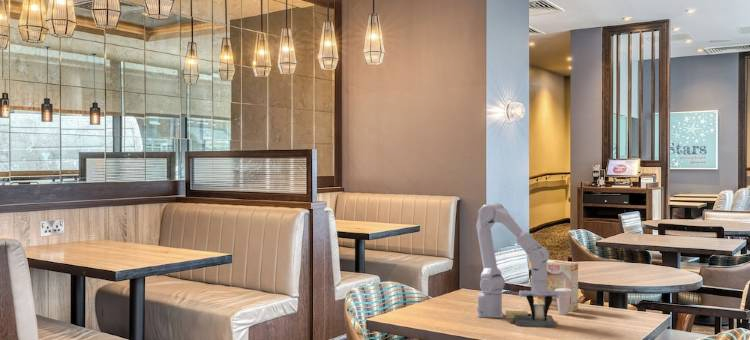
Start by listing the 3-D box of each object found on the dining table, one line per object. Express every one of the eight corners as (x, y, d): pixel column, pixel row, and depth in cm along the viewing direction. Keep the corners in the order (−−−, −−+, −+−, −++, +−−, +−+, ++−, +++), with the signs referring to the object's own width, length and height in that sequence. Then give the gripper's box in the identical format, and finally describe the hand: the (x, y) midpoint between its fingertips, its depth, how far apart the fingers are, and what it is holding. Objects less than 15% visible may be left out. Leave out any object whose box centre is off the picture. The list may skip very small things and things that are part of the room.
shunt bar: (506, 317, 244) (506, 312, 244) (505, 315, 247) (505, 310, 247) (527, 318, 243) (527, 313, 243) (527, 316, 246) (527, 311, 246)
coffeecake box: (537, 307, 271) (537, 260, 271) (544, 304, 277) (544, 258, 277) (571, 312, 262) (571, 264, 261) (578, 309, 267) (578, 262, 267)
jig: (515, 325, 240) (515, 317, 240) (513, 319, 250) (513, 311, 250) (554, 327, 238) (554, 318, 238) (551, 320, 248) (551, 312, 248)
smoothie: (572, 316, 255) (572, 280, 255) (555, 315, 257) (555, 279, 256) (570, 312, 262) (571, 277, 261) (554, 311, 263) (554, 277, 263)
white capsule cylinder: (533, 321, 243) (533, 305, 243) (533, 319, 247) (533, 303, 247) (544, 322, 242) (544, 306, 242) (544, 320, 246) (544, 304, 246)
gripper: (520, 281, 241) (520, 317, 241) (560, 282, 239) (560, 319, 239) (518, 278, 248) (518, 313, 248) (558, 278, 246) (558, 314, 246)
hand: (539, 316), depth 244 cm, fingers closed on white capsule cylinder, 4 cm apart
